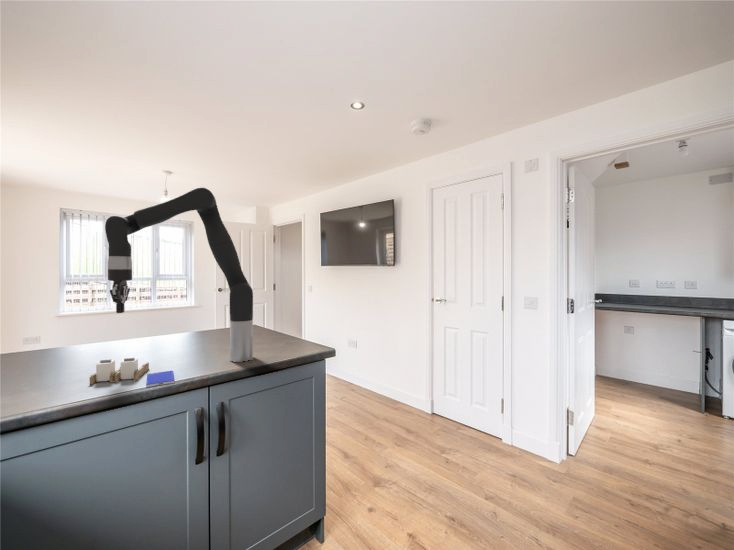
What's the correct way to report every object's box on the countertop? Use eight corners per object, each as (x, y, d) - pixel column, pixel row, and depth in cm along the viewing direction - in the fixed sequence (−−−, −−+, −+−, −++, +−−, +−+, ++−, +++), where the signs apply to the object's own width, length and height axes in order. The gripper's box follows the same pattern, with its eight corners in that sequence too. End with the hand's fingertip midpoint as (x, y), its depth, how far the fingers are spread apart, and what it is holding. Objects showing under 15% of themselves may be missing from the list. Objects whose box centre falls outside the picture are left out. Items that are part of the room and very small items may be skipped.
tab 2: (137, 374, 119) (137, 356, 118) (134, 378, 115) (134, 359, 115) (124, 376, 117) (124, 357, 117) (120, 379, 113) (120, 360, 113)
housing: (127, 370, 125) (127, 363, 124) (112, 382, 111) (112, 374, 111) (107, 372, 122) (107, 364, 122) (89, 384, 109) (89, 376, 109)
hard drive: (147, 373, 118) (146, 384, 107) (173, 370, 122) (174, 379, 112) (147, 378, 118) (146, 389, 107) (173, 374, 122) (174, 384, 112)
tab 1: (115, 376, 116) (114, 358, 116) (110, 380, 112) (110, 361, 112) (101, 378, 115) (101, 358, 115) (96, 381, 111) (96, 362, 111)
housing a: (148, 368, 127) (148, 361, 127) (136, 380, 114) (136, 372, 114) (129, 370, 125) (129, 363, 125) (114, 382, 111) (114, 374, 111)
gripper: (125, 268, 121) (125, 314, 121) (137, 268, 133) (137, 310, 133) (100, 268, 118) (101, 315, 118) (115, 268, 131) (115, 311, 131)
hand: (120, 312), depth 126 cm, fingers closed
